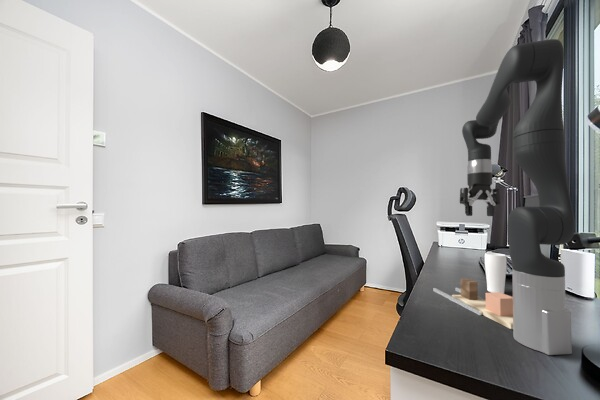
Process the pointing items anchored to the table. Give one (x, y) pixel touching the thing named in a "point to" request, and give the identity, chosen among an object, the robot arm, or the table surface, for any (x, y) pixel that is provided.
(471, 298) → the birch strip
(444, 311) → the table surface
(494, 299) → the terracotta block
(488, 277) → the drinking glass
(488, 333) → the table surface
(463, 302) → the guide rails
